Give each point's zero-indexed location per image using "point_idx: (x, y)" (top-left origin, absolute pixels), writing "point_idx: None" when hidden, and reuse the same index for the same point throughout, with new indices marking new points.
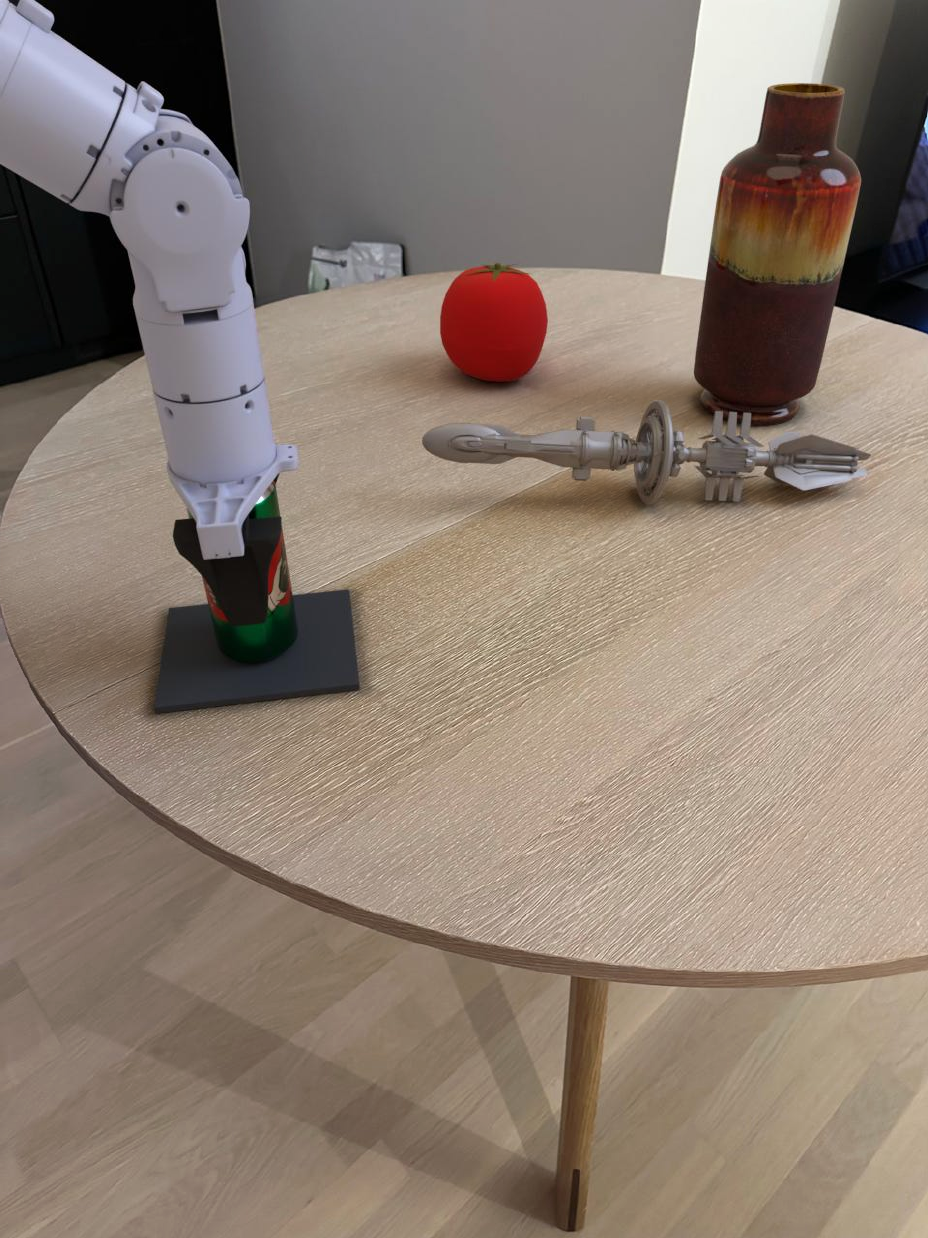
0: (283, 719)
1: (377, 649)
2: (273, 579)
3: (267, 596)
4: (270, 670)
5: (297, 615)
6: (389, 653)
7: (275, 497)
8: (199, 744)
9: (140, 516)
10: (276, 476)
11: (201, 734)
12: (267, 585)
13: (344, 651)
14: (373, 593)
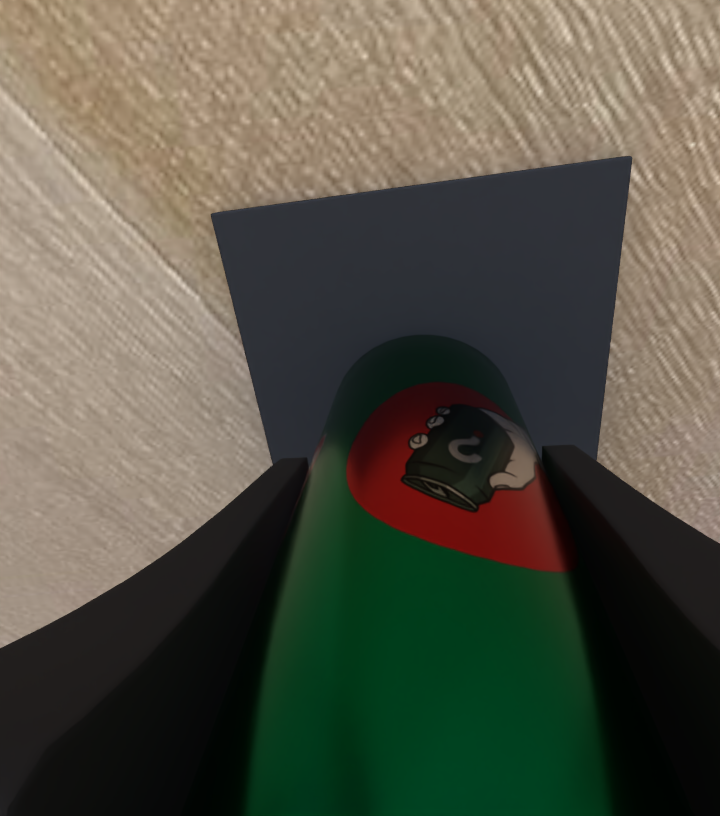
0: (672, 339)
1: (456, 112)
2: (533, 477)
3: (632, 488)
4: (523, 381)
5: (324, 338)
6: (480, 71)
7: (493, 804)
8: (689, 480)
9: (26, 614)
10: (89, 720)
11: (661, 480)
12: (677, 519)
13: (482, 208)
14: (203, 140)
